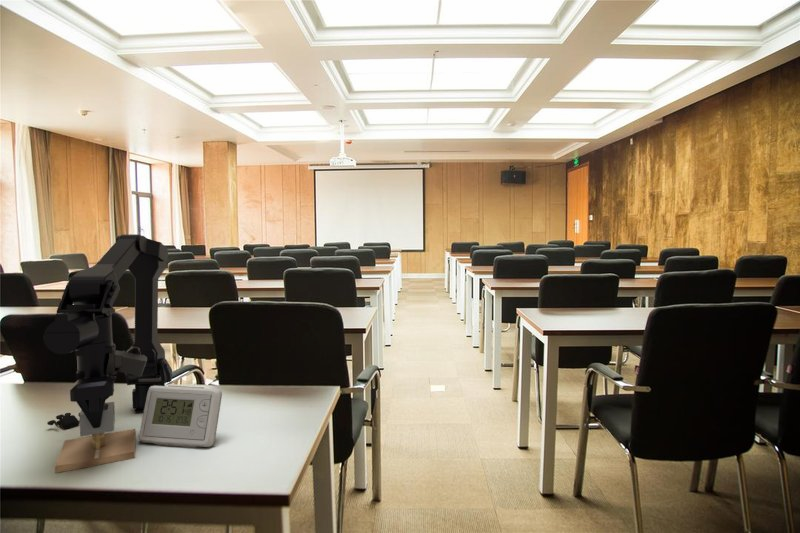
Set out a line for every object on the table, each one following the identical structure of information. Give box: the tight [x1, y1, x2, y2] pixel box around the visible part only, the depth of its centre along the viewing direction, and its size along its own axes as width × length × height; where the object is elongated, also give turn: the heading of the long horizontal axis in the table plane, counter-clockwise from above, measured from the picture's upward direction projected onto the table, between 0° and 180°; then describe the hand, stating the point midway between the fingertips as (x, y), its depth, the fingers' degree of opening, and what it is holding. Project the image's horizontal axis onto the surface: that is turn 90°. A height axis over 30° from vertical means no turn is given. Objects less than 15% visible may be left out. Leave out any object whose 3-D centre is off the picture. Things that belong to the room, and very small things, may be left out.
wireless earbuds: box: [46, 412, 80, 430], centre depth 103 cm, size 7×2×5 cm
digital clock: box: [138, 385, 223, 448], centre depth 95 cm, size 16×9×11 cm, turn 70°
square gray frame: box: [78, 401, 116, 437], centre depth 90 cm, size 5×5×5 cm
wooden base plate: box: [54, 428, 137, 474], centre depth 90 cm, size 12×12×5 cm
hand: (98, 422), depth 90 cm, fingers closed on square gray frame, 5 cm apart
